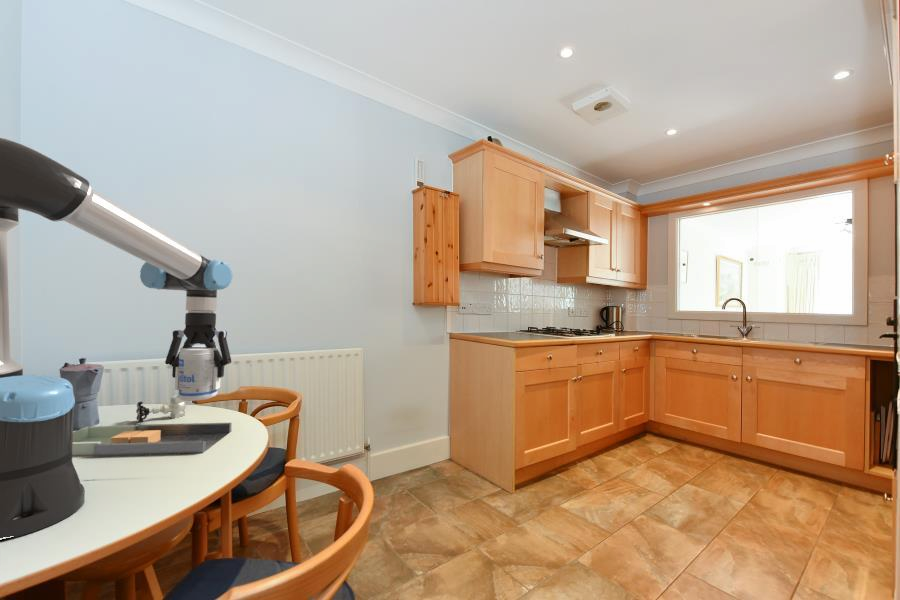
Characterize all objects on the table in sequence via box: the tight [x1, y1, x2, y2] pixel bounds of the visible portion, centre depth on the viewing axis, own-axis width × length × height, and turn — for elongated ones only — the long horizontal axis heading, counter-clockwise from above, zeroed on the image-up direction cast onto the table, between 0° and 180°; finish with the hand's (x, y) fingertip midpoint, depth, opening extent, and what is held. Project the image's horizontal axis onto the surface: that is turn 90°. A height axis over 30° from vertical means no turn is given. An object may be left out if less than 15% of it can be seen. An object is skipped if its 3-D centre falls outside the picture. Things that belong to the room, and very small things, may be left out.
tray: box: [72, 424, 137, 456], centre depth 96 cm, size 13×12×3 cm
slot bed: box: [92, 422, 233, 458], centre depth 98 cm, size 16×24×3 cm, turn 97°
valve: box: [135, 394, 187, 424], centre depth 118 cm, size 7×7×12 cm
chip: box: [111, 431, 142, 443], centre depth 97 cm, size 5×4×2 cm
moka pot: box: [59, 357, 105, 432], centre depth 111 cm, size 10×15×20 cm, turn 78°
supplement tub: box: [177, 345, 219, 402], centre depth 111 cm, size 10×10×15 cm
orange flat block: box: [131, 430, 161, 443], centre depth 98 cm, size 5×4×2 cm
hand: (197, 388), depth 111 cm, fingers closed on supplement tub, 9 cm apart
